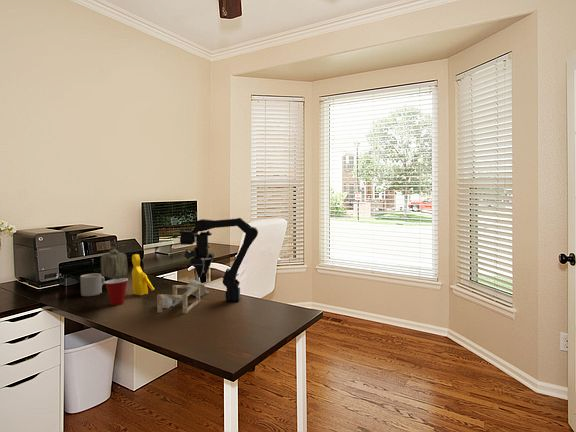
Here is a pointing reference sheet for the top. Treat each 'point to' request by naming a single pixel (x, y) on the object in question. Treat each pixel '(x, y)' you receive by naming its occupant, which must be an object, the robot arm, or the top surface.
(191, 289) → the flap
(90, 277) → the coffee mug
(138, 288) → the figure statuette
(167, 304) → the steel cube
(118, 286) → the plastic cup
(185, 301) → the birch frame
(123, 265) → the tabletop clock
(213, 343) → the top surface
